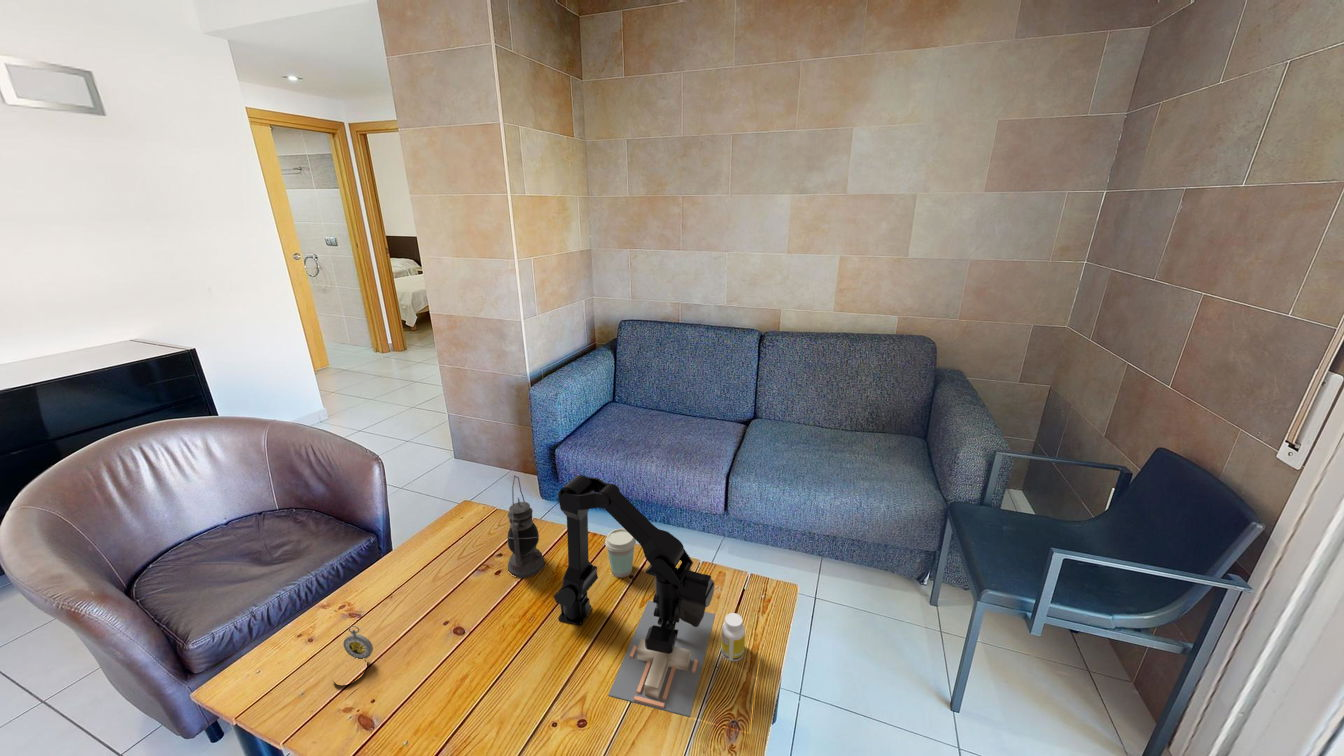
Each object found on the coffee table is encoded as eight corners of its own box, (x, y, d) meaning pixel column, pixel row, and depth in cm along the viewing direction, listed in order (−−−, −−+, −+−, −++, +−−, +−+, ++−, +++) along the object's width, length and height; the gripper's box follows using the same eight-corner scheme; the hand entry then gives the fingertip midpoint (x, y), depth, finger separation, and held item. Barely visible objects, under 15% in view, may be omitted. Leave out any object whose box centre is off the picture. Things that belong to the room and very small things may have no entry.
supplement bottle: (746, 646, 118) (747, 613, 114) (741, 665, 113) (743, 631, 110) (723, 640, 119) (725, 608, 116) (718, 658, 114) (719, 625, 111)
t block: (625, 690, 107) (624, 679, 106) (641, 648, 117) (641, 638, 116) (678, 703, 104) (678, 693, 103) (690, 660, 114) (690, 650, 113)
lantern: (538, 580, 139) (528, 487, 129) (501, 580, 139) (487, 487, 129) (549, 551, 150) (540, 464, 141) (514, 551, 151) (503, 464, 141)
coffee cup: (642, 568, 143) (641, 533, 140) (624, 586, 137) (623, 550, 133) (619, 557, 148) (617, 523, 144) (600, 574, 141) (598, 539, 137)
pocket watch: (331, 692, 107) (321, 657, 103) (336, 662, 114) (326, 628, 110) (375, 677, 110) (366, 642, 107) (376, 648, 117) (368, 615, 114)
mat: (608, 696, 106) (608, 693, 105) (648, 601, 131) (648, 598, 131) (690, 717, 101) (690, 714, 101) (715, 615, 127) (715, 612, 126)
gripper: (694, 630, 102) (694, 683, 108) (709, 566, 118) (709, 614, 124) (642, 620, 104) (645, 672, 110) (665, 559, 121) (666, 607, 127)
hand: (669, 639), depth 118 cm, fingers open, 4 cm apart
